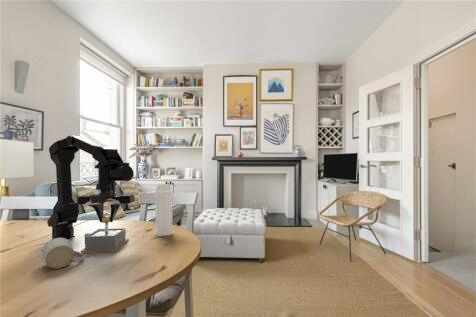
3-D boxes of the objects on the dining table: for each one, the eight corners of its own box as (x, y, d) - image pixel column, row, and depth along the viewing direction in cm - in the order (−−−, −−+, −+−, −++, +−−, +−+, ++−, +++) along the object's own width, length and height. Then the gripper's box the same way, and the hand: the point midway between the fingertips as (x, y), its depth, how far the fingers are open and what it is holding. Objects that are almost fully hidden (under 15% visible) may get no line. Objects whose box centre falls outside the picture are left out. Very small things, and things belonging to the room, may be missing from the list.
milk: (172, 234, 107) (172, 184, 108) (158, 237, 104) (158, 185, 105) (168, 231, 113) (169, 183, 113) (155, 233, 110) (155, 184, 110)
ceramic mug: (44, 273, 70) (45, 246, 70) (41, 264, 76) (42, 239, 76) (87, 263, 77) (87, 239, 78) (81, 256, 83) (82, 233, 84)
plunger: (89, 238, 88) (89, 219, 88) (100, 232, 96) (100, 214, 96) (113, 238, 88) (113, 218, 88) (122, 231, 96) (122, 213, 97)
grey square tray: (76, 253, 85) (76, 237, 85) (93, 242, 97) (93, 228, 97) (116, 252, 86) (116, 236, 87) (128, 241, 98) (128, 227, 99)
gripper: (67, 182, 83) (67, 228, 83) (124, 182, 85) (124, 227, 85) (85, 180, 94) (84, 220, 94) (135, 179, 96) (134, 219, 96)
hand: (106, 222), depth 92 cm, fingers open, 3 cm apart
